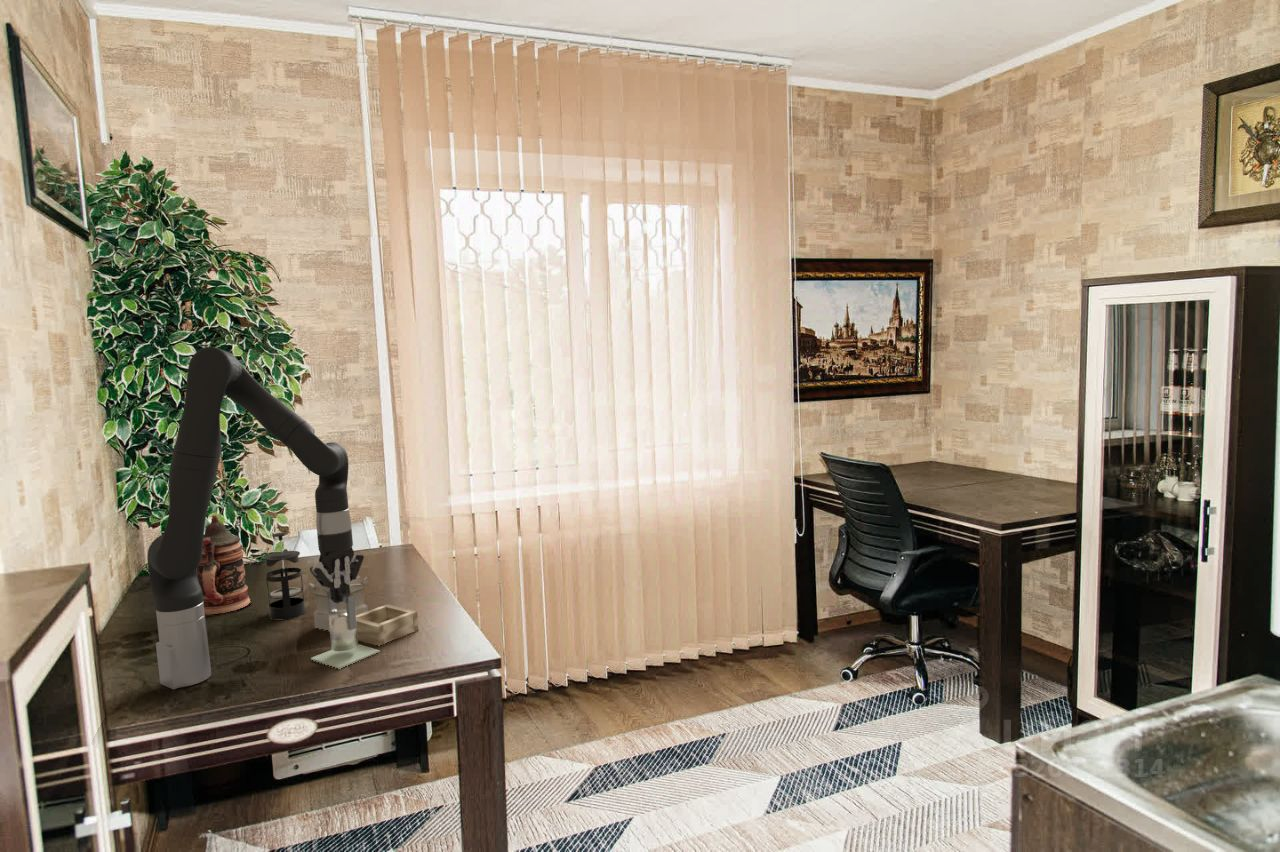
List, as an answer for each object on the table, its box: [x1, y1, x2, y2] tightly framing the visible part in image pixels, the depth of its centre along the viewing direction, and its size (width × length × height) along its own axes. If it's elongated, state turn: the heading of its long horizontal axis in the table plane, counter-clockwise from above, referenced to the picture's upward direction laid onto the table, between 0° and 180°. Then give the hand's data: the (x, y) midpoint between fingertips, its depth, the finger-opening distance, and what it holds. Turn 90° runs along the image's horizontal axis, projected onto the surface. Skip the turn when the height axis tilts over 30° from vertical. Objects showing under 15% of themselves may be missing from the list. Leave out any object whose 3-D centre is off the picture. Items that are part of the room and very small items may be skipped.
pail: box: [327, 591, 359, 651], centre depth 186 cm, size 6×8×13 cm
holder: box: [356, 603, 419, 647], centre depth 201 cm, size 12×12×5 cm
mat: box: [310, 643, 381, 670], centre depth 187 cm, size 11×11×1 cm
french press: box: [263, 531, 307, 620], centre depth 219 cm, size 12×9×23 cm
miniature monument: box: [308, 562, 370, 632], centre depth 207 cm, size 10×10×30 cm
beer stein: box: [196, 514, 251, 614], centre depth 226 cm, size 17×28×18 cm
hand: (340, 600), depth 186 cm, fingers closed on pail, 1 cm apart
